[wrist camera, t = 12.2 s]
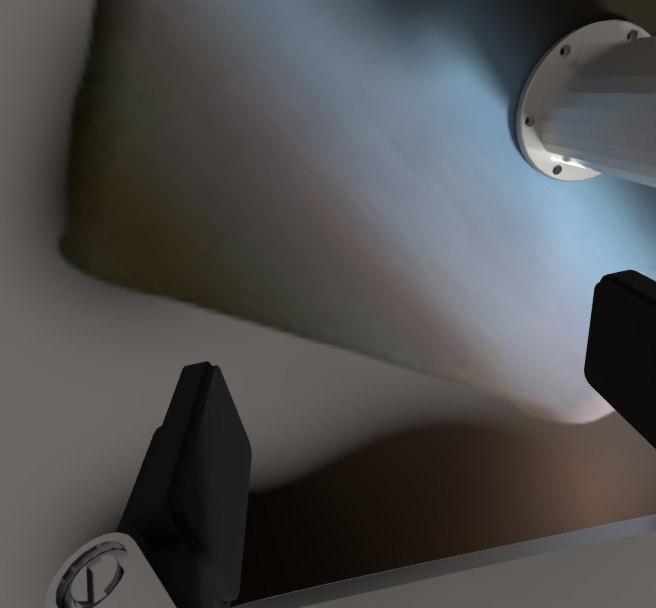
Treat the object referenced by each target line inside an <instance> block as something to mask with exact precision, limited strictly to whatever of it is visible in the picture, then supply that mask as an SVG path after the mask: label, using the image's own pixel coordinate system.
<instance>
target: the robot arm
mask: <svg viewBox="0 0 656 608" xmlns="http://www.w3.org/2000/svg"><path fill="white" fill-rule="evenodd" d="M560 50H561V54H560ZM526 118H527V122H526V123H525V120H526ZM516 133H517V140H518V143H519V147H520V150H521V152H522V154H523V156H524V157H525V159H526V161H527V162H528V163H529V164H530V165H531V166H532V167H533V168H534V169H535V170H536V171H538V172H539V173H541V174H543V175H544V176H547V177H550V178H552V179H556V180H561V181H581V180H586V179H590V178H593V177H595V176H598V175H600V174H603V173H604V174H607V175H611V176H615V177H618V178H622V179H626V180H630V181H633V182H637V183H641V184H644V185H648V186H652V187H655V188H656V36H651V35H650V34H649V33H647V32H646V31H645V30H644V29H643V28H641V27H640V26H638V25H635V24H633V23H631V22H628V21H621V20H607V21H599V22H595V23H591V24H587V25H585V26H582V27H580V28H578V29H576V30H573V31H571V32H570V33H568V34H567V35H565V36H564V37H562V38H561V39H560V40H558V41H557V42H556V43H555V44H554V45H553V46H552V47H551V48H550V49H548V50H547V51H546V52H545V54H544V55H543V56H542V57H541V59H540V60H539V61H538V62H537V64H536V65H535V66H534V68H533V70H532V72H531V73H530V75H529V77H528V79H527V80H526V83H525V85H524V88H523V90H522V93H521V95H520V99H519V103H518V108H517V113H516ZM553 168H554V169H553ZM584 374H585V377H586V380H587V381H588V383H589V384H590V385H591V386H592V387H593V388H594V389H595V390H596V391H597V392H598V393H599V394H600V395H601V396H602V397H603V398H604V399H605V400H606V401H607V402H608V403H609V404H610V405H611V406H612V407H613V408H614V409H615V410H616V411H617V412H618V413H620V415H621V416H622V417H623V418H624V419H625V420H626V421H627V422H628V423H630V424H631V425H632V426H633V427H634V428H635V429H636V430H637V431H638V432H639V433H640V434H641V435H642V436H643V437H644V438H645V439H646V440H647V441H648V442H649V443H650V444H651V445H652V446H653V447H654V448H655V449H656V281H654V280H652V279H650V278H648V277H646V276H644V275H642V274H640V273H638V272H637V271H634V270H626V271H621V272H617V273H612V274H608V275H605V276H603V277H602V279H601V280H600V282H599V283H597V284H596V286H595V289H594V296H593V304H592V312H591V320H590V328H589V335H588V343H587V351H586V359H585V367H584ZM251 457H252V453H251V446H250V442H249V439H248V437H247V434H246V432H245V429H244V427H243V424H242V422H241V419H240V417H239V414H238V412H237V410H236V407H235V404H234V402H233V399H232V397H231V395H230V392H229V390H228V387H227V385H226V382H225V380H224V377H223V375H222V372H221V370H220V368H219V366H217V365H216V366H212V365H211V364H210V363H209V362H208V361H206V362H202V363H197V364H192V365H188V366H185V367H184V368H183V370H182V372H181V375H180V378H179V381H178V383H177V386H176V389H175V392H174V394H173V397H172V400H171V403H170V405H169V408H168V411H167V413H166V416H165V419H164V422H163V424H162V426H160V427H159V428H157V429H156V431H155V433H154V435H153V438H152V440H151V443H150V445H149V448H148V450H147V453H146V456H145V458H144V461H143V464H142V466H141V469H140V472H139V474H138V477H137V479H136V482H135V485H134V487H133V490H132V492H131V495H130V498H129V500H128V503H127V506H126V508H125V511H124V513H123V516H122V519H121V521H120V524H119V527H118V529H117V532H116V533H110V534H105V535H103V536H100V537H98V538H96V539H93V540H92V541H90V542H89V543H87V544H85V545H84V546H82V547H81V548H80V549H78V550H77V551H76V552H75V553H74V554H73V555H72V556H71V557H70V558H69V559H67V561H66V562H65V563H64V565H63V566H62V567H61V568H60V569H59V571H58V572H57V573H56V575H55V577H54V579H53V581H52V583H51V585H50V586H49V589H48V593H47V596H46V600H45V608H230V601H231V600H235V599H237V597H238V594H239V588H240V576H241V565H242V555H243V545H244V534H245V523H246V512H247V500H248V491H249V480H250V469H251ZM231 608H656V514H655V515H650V516H646V517H641V518H635V519H631V520H626V521H621V522H617V523H612V524H607V525H602V526H597V527H592V528H587V529H583V530H578V531H573V532H568V533H564V534H559V535H554V536H550V537H544V538H540V539H535V540H531V541H525V542H521V543H516V544H512V545H506V546H502V547H497V548H492V549H487V550H483V551H478V552H473V553H468V554H464V555H459V556H455V557H450V558H445V559H441V560H436V561H432V562H427V563H422V564H418V565H413V566H408V567H403V568H399V569H394V570H390V571H385V572H380V573H376V574H371V575H366V576H362V577H357V578H352V579H348V580H343V581H339V582H334V583H330V584H326V585H321V586H317V587H313V588H309V589H304V590H300V591H296V592H291V593H287V594H283V595H279V596H274V597H270V598H266V599H262V600H257V601H253V602H249V603H245V604H242V605H238V606H235V607H231Z"/></svg>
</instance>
